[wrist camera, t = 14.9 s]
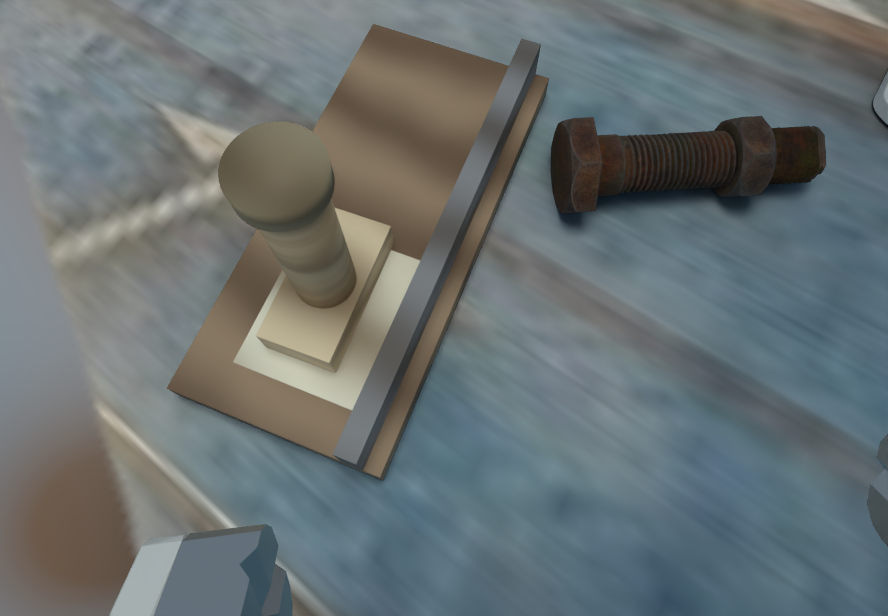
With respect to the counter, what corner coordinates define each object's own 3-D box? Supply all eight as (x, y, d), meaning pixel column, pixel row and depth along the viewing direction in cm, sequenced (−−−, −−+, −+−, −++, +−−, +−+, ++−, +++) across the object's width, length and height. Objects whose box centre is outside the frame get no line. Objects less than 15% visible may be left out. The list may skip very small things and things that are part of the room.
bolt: (783, 199, 40) (550, 212, 39) (786, 116, 39) (547, 129, 38) (847, 196, 34) (575, 212, 33) (851, 100, 33) (572, 114, 33)
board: (375, 41, 42) (368, -8, 39) (545, 94, 41) (555, 48, 37) (178, 394, 34) (144, 375, 30) (382, 480, 32) (374, 472, 28)
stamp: (328, 221, 36) (272, 68, 24) (393, 243, 35) (367, 97, 24) (266, 347, 33) (170, 243, 22) (336, 373, 33) (275, 280, 21)
